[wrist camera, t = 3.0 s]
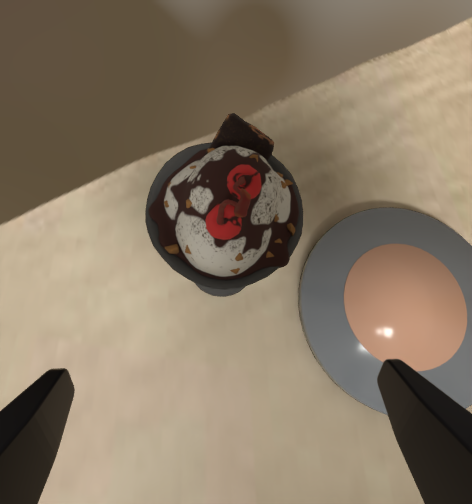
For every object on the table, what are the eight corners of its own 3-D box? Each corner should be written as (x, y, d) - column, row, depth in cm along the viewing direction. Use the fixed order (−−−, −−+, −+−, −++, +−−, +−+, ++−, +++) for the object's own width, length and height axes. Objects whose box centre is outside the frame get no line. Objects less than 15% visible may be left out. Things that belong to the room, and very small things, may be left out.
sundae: (217, 328, 21) (220, 319, 6) (159, 258, 22) (45, 112, 7) (284, 269, 22) (410, 150, 8) (226, 206, 23) (241, -1, 9)
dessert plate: (534, 345, 22) (550, 345, 21) (377, 463, 19) (386, 471, 18) (411, 183, 25) (420, 177, 24) (260, 265, 22) (263, 262, 21)
